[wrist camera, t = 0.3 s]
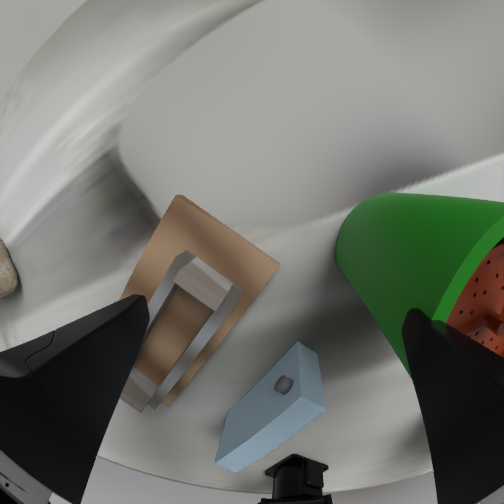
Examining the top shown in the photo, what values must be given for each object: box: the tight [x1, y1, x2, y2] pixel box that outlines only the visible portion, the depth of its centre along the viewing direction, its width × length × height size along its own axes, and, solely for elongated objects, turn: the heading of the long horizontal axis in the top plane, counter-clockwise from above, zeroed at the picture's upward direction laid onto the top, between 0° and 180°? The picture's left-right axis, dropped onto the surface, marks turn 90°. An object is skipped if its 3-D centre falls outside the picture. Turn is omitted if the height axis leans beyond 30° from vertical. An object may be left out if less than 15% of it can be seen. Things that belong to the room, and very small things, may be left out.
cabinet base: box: [120, 195, 279, 413], centre depth 22 cm, size 20×10×6 cm, turn 145°
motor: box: [336, 193, 504, 381], centre depth 12 cm, size 10×9×20 cm
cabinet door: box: [214, 341, 327, 473], centre depth 22 cm, size 12×3×8 cm, turn 145°
